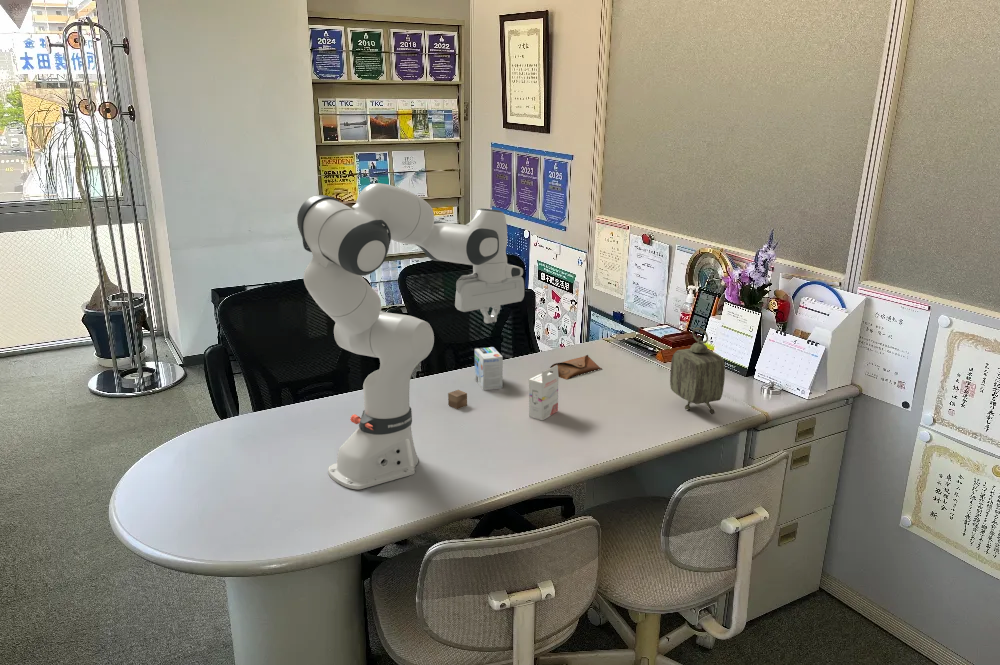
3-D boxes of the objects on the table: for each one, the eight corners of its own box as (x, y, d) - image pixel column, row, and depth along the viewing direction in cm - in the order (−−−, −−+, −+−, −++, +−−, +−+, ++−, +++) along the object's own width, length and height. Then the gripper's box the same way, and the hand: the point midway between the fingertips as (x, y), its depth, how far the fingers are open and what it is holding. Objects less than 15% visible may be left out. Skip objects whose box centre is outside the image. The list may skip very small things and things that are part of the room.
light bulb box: (474, 379, 238) (473, 348, 235) (493, 377, 240) (493, 346, 237) (483, 390, 229) (482, 358, 225) (503, 388, 231) (503, 356, 227)
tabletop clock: (721, 415, 210) (729, 333, 202) (695, 420, 207) (702, 337, 199) (690, 398, 223) (697, 320, 215) (666, 402, 219) (671, 323, 212)
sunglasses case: (566, 380, 237) (559, 361, 238) (553, 385, 243) (547, 366, 244) (604, 368, 248) (597, 350, 249) (591, 373, 254) (584, 355, 254)
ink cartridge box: (544, 407, 216) (545, 361, 211) (558, 411, 213) (559, 364, 209) (527, 416, 209) (528, 369, 205) (542, 421, 206) (542, 372, 202)
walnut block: (457, 409, 214) (456, 396, 213) (448, 405, 217) (448, 393, 216) (467, 405, 217) (467, 393, 216) (458, 401, 220) (458, 389, 219)
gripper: (463, 278, 179) (464, 332, 183) (528, 268, 191) (527, 318, 195) (449, 274, 184) (450, 326, 188) (513, 264, 195) (513, 313, 200)
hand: (490, 322), depth 191 cm, fingers closed
